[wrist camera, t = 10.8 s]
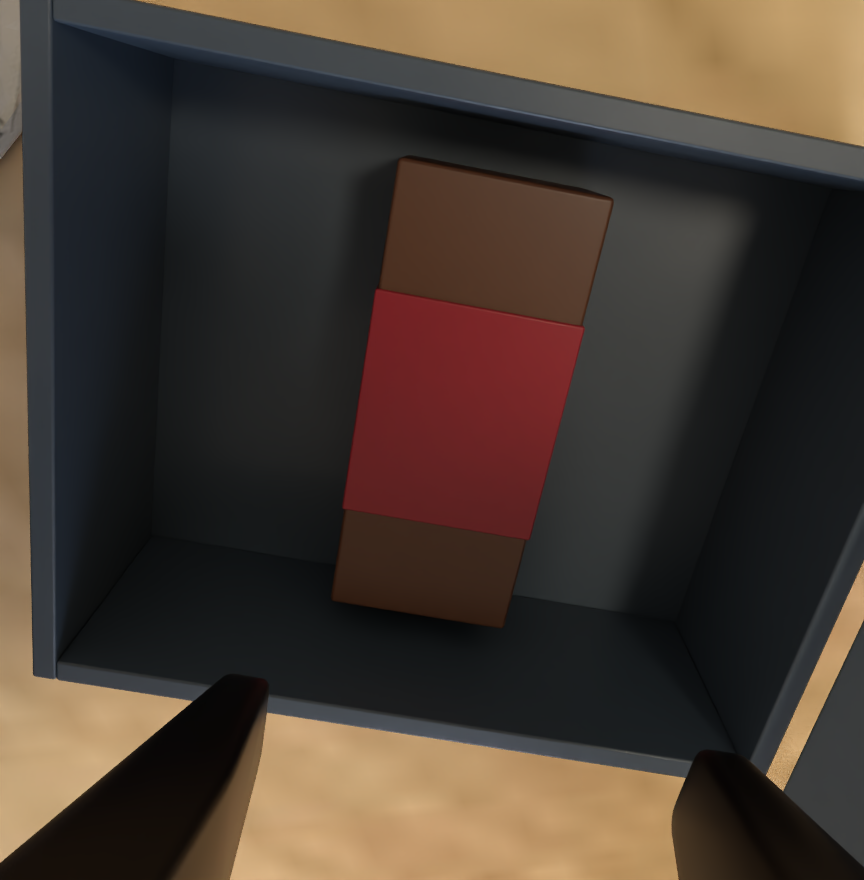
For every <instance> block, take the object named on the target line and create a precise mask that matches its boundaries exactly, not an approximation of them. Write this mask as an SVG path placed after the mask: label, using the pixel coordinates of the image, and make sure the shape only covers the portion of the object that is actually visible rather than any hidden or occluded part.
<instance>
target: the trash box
mask: <svg viewBox="0 0 864 880" xmlns="http://www.w3.org/2000/svg"><path fill="white" fill-rule="evenodd" d="M19 4H20V53H21V102H22V151H23V201H24V250H25V299H26V348H27V397H28V446H29V495H30V544H31V593H32V642H33V675H34V676H36V677H42V678H49V679H56V678H57V679H58V680H62V681H68V682H74V683H81V684H87V685H94V686H100V687H107V688H113V689H119V690H126V691H132V692H139V693H145V694H151V695H158V696H164V697H171V698H177V699H183V700H190V701H194V700H196V699H197V698H198V697H199V696H200V695H202V694H203V693H204V692H205V691H206V690H207V689H209V688H210V687H211V686H212V685H213V684H215V683H216V682H217V681H218V680H219V679H221V678H222V677H223V676H225V675H228V674H239V675H245V676H251V677H257V678H263V679H265V680H266V681H267V682H268V684H269V698H268V706H267V713H273V714H280V715H286V716H293V717H299V718H305V719H312V720H318V721H325V722H331V723H337V724H344V725H350V726H357V727H363V728H369V729H376V730H382V731H389V732H395V733H402V734H408V735H414V736H421V737H427V738H434V739H440V740H446V741H453V742H459V743H466V744H472V745H478V746H485V747H491V748H498V749H504V750H511V751H517V752H523V753H530V754H536V755H543V756H549V757H555V758H562V759H568V760H575V761H581V762H588V763H594V764H600V765H607V766H613V767H620V768H626V769H632V770H639V771H645V772H652V773H658V774H664V775H671V776H677V777H684V778H686V777H687V774H688V772H689V769H690V767H691V765H692V762H693V760H694V758H695V756H696V755H697V754H698V753H699V752H700V751H702V750H705V749H711V750H717V751H723V752H730V753H736V754H739V755H742V756H744V757H746V758H747V759H748V760H749V761H750V762H752V763H753V764H754V765H755V766H756V767H757V768H758V769H759V770H760V771H761V772H762V773H763V774H764V775H766V774H767V772H768V769H769V767H770V765H771V763H772V761H773V758H774V756H775V754H776V752H777V750H778V748H779V745H780V743H781V741H782V739H783V737H784V734H785V732H786V730H787V728H788V726H789V723H790V721H791V719H792V717H793V715H794V712H795V710H796V708H797V706H798V704H799V701H800V699H801V697H802V695H803V693H804V690H805V688H806V686H807V684H808V682H809V679H810V677H811V675H812V673H813V671H814V669H815V666H816V664H817V662H818V660H819V658H820V655H821V653H822V651H823V649H824V647H825V644H826V642H827V640H828V638H829V636H830V633H831V631H832V629H833V627H834V625H835V622H836V620H837V618H838V616H839V614H840V611H841V609H842V607H843V605H844V603H845V600H846V598H847V596H848V594H849V592H850V590H851V587H852V585H853V583H854V581H855V579H856V576H857V574H858V572H859V570H860V568H861V565H862V563H863V561H864V146H859V145H854V144H849V143H844V142H839V141H834V140H829V139H824V138H819V137H814V136H809V135H804V134H799V133H794V132H789V131H784V130H779V129H774V128H769V127H764V126H759V125H754V124H749V123H744V122H739V121H734V120H729V119H724V118H719V117H714V116H709V115H704V114H699V113H694V112H689V111H684V110H679V109H674V108H669V107H664V106H659V105H654V104H649V103H644V102H640V101H635V100H630V99H625V98H620V97H615V96H610V95H605V94H600V93H595V92H590V91H585V90H580V89H575V88H570V87H565V86H560V85H555V84H550V83H545V82H540V81H535V80H530V79H525V78H520V77H515V76H510V75H505V74H500V73H495V72H490V71H485V70H480V69H475V68H470V67H465V66H460V65H455V64H450V63H445V62H440V61H435V60H430V59H425V58H420V57H415V56H410V55H405V54H400V53H395V52H390V51H385V50H381V49H376V48H371V47H366V46H361V45H356V44H351V43H346V42H341V41H336V40H331V39H326V38H321V37H316V36H311V35H306V34H301V33H296V32H291V31H286V30H281V29H276V28H271V27H266V26H261V25H256V24H251V23H246V22H241V21H236V20H231V19H226V18H221V17H216V16H211V15H206V14H201V13H196V12H191V11H186V10H181V9H176V8H171V7H166V6H161V5H156V4H151V3H146V2H141V1H136V0H19ZM407 155H414V156H419V157H425V158H430V159H435V160H440V161H445V162H450V163H456V164H461V165H466V166H471V167H476V168H481V169H487V170H492V171H497V172H502V173H507V174H512V175H518V176H523V177H528V178H533V179H538V180H543V181H549V182H554V183H559V184H564V185H569V186H574V187H580V188H584V189H587V190H590V191H593V192H596V193H599V194H602V195H605V196H609V197H611V198H612V199H614V205H613V209H612V213H611V217H610V220H609V224H608V228H607V232H606V236H605V240H604V244H603V247H602V251H601V255H600V259H599V263H598V267H597V271H596V274H595V278H594V282H593V286H592V290H591V294H590V298H589V301H588V305H587V309H586V313H585V317H584V321H583V326H584V327H585V330H584V334H583V338H582V342H581V346H580V350H579V353H578V357H577V361H576V365H575V369H574V372H573V376H572V380H571V384H570V388H569V392H568V395H567V399H566V403H565V407H564V411H563V415H562V418H561V422H560V426H559V430H558V434H557V438H556V441H555V445H554V449H553V453H552V457H551V461H550V464H549V468H548V472H547V476H546V480H545V484H544V487H543V491H542V495H541V499H540V503H539V507H538V510H537V514H536V518H535V522H534V526H533V530H532V533H531V537H530V539H529V540H527V541H526V544H525V548H524V552H523V556H522V560H521V564H520V568H519V571H518V575H517V579H516V583H515V587H514V591H513V595H512V598H511V602H510V606H509V610H508V614H507V618H506V622H505V625H504V627H503V628H501V629H500V628H494V627H488V626H482V625H475V624H469V623H463V622H457V621H451V620H445V619H439V618H433V617H426V616H420V615H414V614H408V613H402V612H396V611H390V610H384V609H377V608H371V607H365V606H359V605H353V604H347V603H341V602H335V601H332V600H331V591H332V585H333V578H334V572H335V565H336V559H337V552H338V546H339V539H340V533H341V526H342V520H343V513H344V509H343V508H342V503H343V497H344V490H345V484H346V477H347V471H348V464H349V457H350V451H351V444H352V438H353V431H354V425H355V418H356V411H357V405H358V398H359V392H360V385H361V379H362V372H363V365H364V359H365V352H366V346H367V339H368V333H369V326H370V319H371V313H372V306H373V300H374V293H375V289H376V287H377V285H378V283H379V279H380V272H381V266H382V259H383V253H384V246H385V240H386V233H387V227H388V220H389V214H390V207H391V201H392V194H393V188H394V181H395V175H396V168H397V162H398V160H399V158H401V157H404V156H407Z"/></svg>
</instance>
